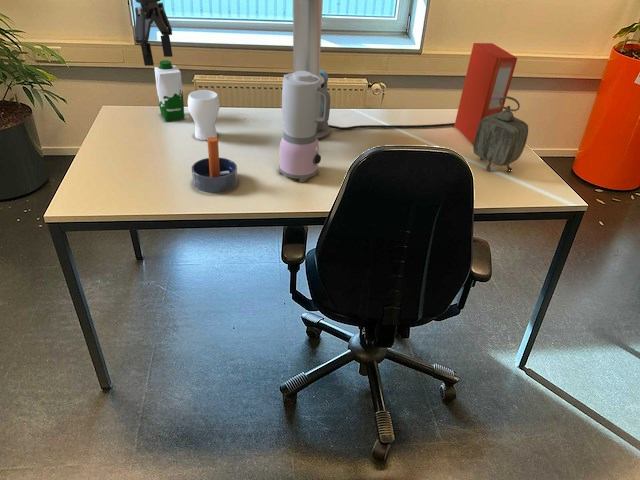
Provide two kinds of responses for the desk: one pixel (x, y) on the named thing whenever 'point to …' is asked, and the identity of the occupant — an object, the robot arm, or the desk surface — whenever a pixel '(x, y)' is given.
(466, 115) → the file binder
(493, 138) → the tabletop clock
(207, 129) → the cup
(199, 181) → the bowl
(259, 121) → the desk surface
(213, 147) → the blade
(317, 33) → the robot arm
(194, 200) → the desk surface
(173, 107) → the milk carton
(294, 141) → the blender
